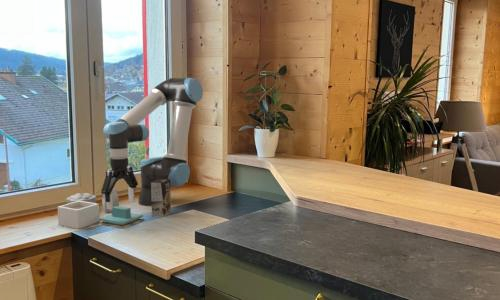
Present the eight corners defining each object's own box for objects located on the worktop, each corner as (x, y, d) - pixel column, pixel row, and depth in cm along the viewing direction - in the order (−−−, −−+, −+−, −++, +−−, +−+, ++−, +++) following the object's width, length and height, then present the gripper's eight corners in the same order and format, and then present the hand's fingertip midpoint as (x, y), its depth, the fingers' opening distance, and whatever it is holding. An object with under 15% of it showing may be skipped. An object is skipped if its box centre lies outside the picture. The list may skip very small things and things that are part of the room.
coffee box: (164, 217, 216) (163, 182, 213) (151, 216, 217) (150, 182, 215) (171, 212, 225) (171, 178, 222) (159, 211, 226) (158, 178, 224)
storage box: (80, 217, 215) (79, 200, 214) (99, 221, 209) (98, 203, 208) (58, 224, 204) (57, 206, 203) (78, 228, 199) (77, 210, 198)
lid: (120, 215, 217) (120, 202, 217) (142, 219, 212) (142, 206, 211) (99, 222, 206) (99, 209, 205) (122, 227, 200) (122, 213, 199)
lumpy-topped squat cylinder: (64, 212, 224) (63, 194, 223) (90, 207, 233) (89, 190, 232) (74, 216, 217) (73, 198, 216) (101, 211, 226) (100, 193, 225)
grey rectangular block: (119, 210, 227) (118, 190, 226) (105, 213, 223) (104, 192, 221) (115, 209, 230) (115, 189, 228) (102, 211, 226) (101, 191, 224)
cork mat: (120, 215, 218) (120, 215, 218) (144, 220, 212) (144, 219, 212) (97, 223, 206) (97, 222, 206) (122, 228, 199) (122, 227, 199)
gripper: (132, 153, 217) (133, 198, 220) (90, 161, 196) (93, 211, 199) (144, 154, 214) (146, 200, 217) (104, 162, 192) (106, 213, 195)
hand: (120, 205), depth 208 cm, fingers open, 13 cm apart
